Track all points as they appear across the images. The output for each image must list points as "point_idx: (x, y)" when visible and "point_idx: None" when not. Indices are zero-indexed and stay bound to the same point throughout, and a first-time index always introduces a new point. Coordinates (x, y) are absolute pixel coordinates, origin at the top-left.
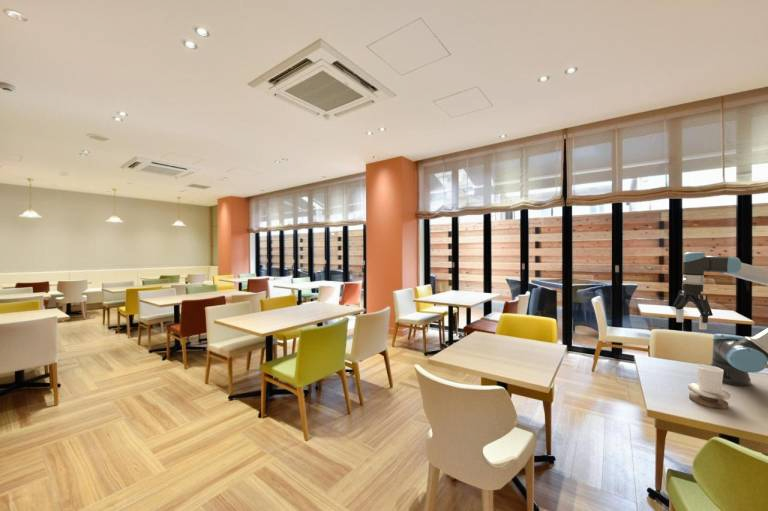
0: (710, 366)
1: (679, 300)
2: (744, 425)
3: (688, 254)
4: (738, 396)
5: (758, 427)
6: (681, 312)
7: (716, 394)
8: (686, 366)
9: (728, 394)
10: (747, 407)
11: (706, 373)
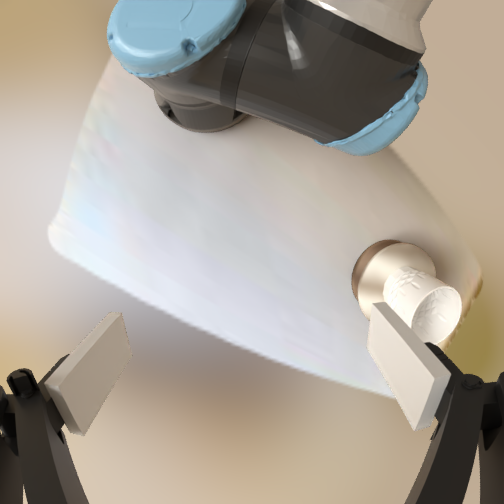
0: (420, 301)
1: (9, 498)
2: (464, 277)
3: None
4: (345, 158)
5: (470, 256)
6: (84, 387)
7: None
8: (109, 145)
9: (424, 256)
10: (406, 196)
11: (439, 332)
